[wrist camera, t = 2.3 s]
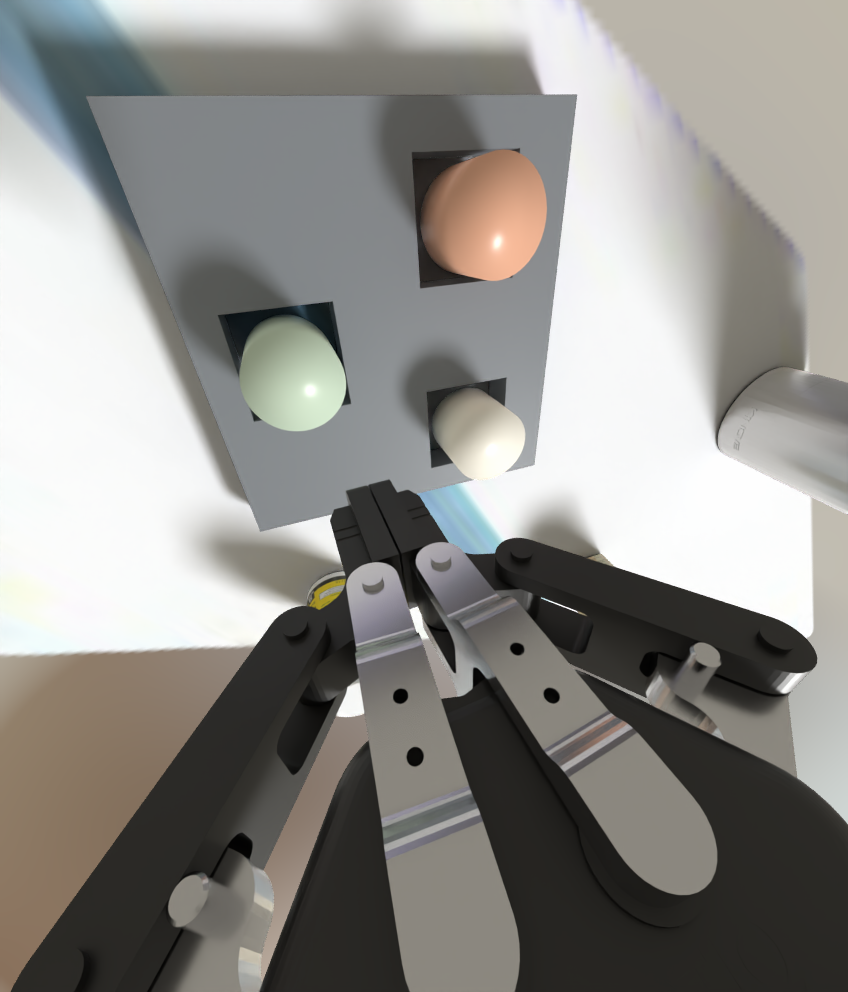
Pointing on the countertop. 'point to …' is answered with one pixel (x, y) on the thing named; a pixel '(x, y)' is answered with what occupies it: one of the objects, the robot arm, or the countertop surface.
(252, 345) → the sage button
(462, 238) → the terracotta button
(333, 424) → the panel
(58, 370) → the countertop surface
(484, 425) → the cream piece
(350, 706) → the supplement bottle
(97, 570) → the countertop surface
